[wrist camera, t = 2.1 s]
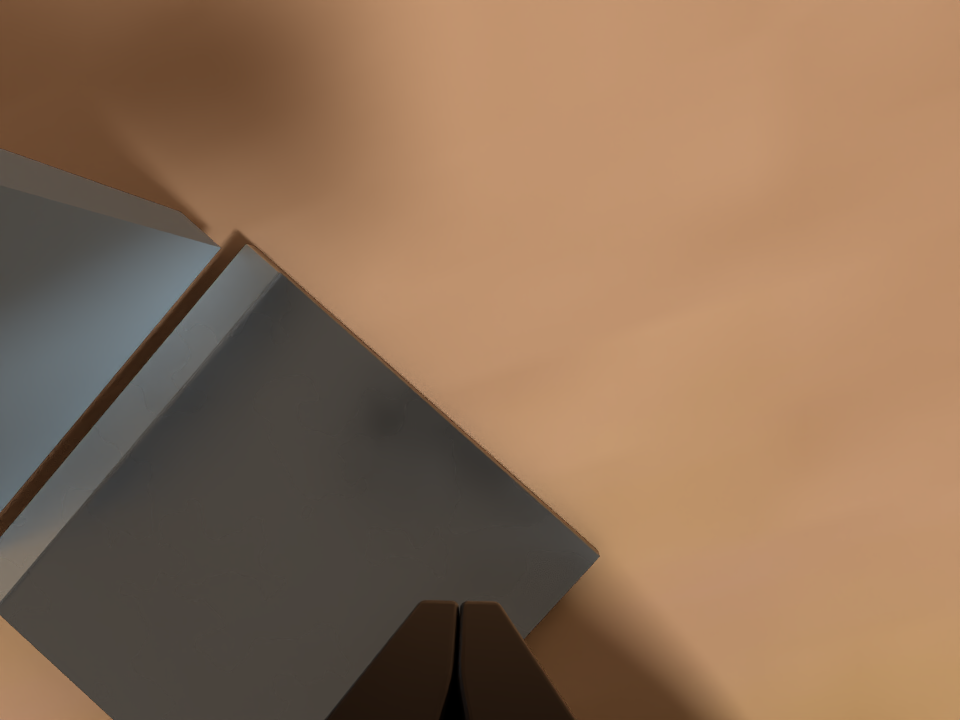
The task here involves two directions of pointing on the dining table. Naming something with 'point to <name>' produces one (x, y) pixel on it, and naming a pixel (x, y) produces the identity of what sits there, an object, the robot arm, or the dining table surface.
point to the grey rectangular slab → (76, 298)
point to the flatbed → (266, 520)
